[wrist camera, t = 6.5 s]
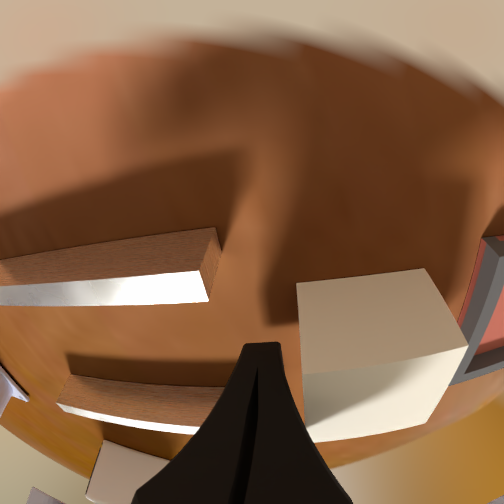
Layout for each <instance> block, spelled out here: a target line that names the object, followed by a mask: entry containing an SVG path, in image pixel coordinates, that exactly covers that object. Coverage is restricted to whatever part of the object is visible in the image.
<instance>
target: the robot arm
mask: <svg viewBox="0 0 504 504" xmlns="http://www.w3.org/2000/svg"><path fill="white" fill-rule="evenodd" d="M11 396H14V397H16V398H19V399H21V400H24V401H27V402H28V401H29V397H28V396H27V395H26V394H25V393H24V392H23V391H22V390H21V389H20V388H19V387H18V385H17V384H16V383H15V382H14V381H13V380H12V379H11V378H10V376H9V375H8V374H7V373H6V372H5V371H4V369H3V368H2V367H1V366H0V417H1V415H2V413H3V411H4V409H5V407H6V405H7V403H8V401H9V399H10V398H11ZM27 504H65V503H63V502H61V501H59V500H57V499H55V498H53V497H51V496H49V495H47V494H45V493H44V492H42V491H40V490H38V489H37V488H35V487H32V489H31V492H30V495H29V497H28V500H27ZM131 504H353V502H352V500H351V498H350V497H349V496H348V494H347V493H346V492H345V491H344V489H343V488H342V486H341V485H340V484H339V483H338V481H337V479H336V478H335V476H334V475H333V474H332V472H331V471H330V469H329V468H328V466H327V464H326V463H325V461H324V459H323V458H322V456H321V455H320V453H319V451H318V450H317V448H316V446H315V444H314V443H313V441H312V439H311V437H310V435H309V433H308V431H307V429H306V427H305V425H304V423H303V421H302V419H301V416H300V414H299V412H298V410H297V407H296V405H295V402H294V400H293V397H292V394H291V392H290V389H289V386H288V383H287V380H286V376H285V371H284V365H283V358H282V351H281V344H280V343H279V342H264V343H246V344H245V345H244V346H243V348H242V351H241V354H240V356H239V359H238V361H237V363H236V366H235V368H234V370H233V372H232V374H231V376H230V378H229V380H228V382H227V384H226V386H225V388H224V390H223V392H222V394H221V395H220V397H219V399H218V400H217V402H216V404H215V405H214V407H213V409H212V410H211V412H210V413H209V415H208V416H207V418H206V419H205V421H204V422H203V424H202V425H201V426H200V428H199V429H198V430H197V432H196V433H195V434H194V435H193V437H192V438H191V439H190V440H189V441H188V443H187V444H186V445H185V446H184V447H183V448H182V450H181V451H180V452H179V453H178V454H177V455H176V456H175V457H174V458H173V459H172V460H171V461H170V462H169V463H168V464H167V465H166V466H165V467H164V468H163V469H162V470H160V471H159V472H158V473H157V474H156V475H155V476H153V477H152V478H151V479H150V480H148V481H147V482H146V483H145V484H143V485H142V486H141V487H139V488H138V489H137V490H136V492H135V494H134V497H133V499H132V502H131ZM487 504H504V495H503V496H501V497H499V498H497V499H495V500H493V501H491V502H489V503H487Z"/></svg>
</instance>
